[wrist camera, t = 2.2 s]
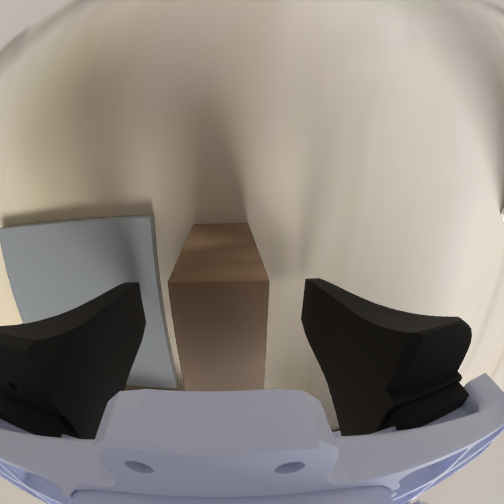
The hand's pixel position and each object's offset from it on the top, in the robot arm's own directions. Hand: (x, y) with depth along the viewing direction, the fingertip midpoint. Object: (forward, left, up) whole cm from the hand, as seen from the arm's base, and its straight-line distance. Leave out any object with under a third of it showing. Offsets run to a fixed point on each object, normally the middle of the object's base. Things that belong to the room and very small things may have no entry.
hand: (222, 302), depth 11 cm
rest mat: (+8, +2, -2) cm, 8 cm away
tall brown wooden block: (0, 0, -2) cm, 2 cm away
